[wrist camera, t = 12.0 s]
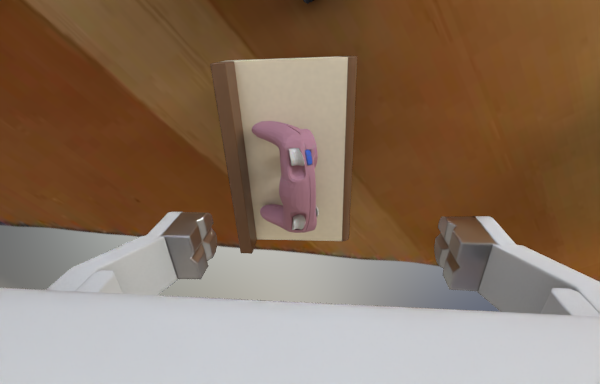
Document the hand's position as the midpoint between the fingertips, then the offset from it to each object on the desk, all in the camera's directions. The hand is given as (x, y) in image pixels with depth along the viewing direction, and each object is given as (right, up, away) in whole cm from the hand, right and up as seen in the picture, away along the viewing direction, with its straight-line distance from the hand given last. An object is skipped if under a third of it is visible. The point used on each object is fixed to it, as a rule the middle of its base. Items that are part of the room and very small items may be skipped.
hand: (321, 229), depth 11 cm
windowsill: (-1, +8, +26) cm, 27 cm away
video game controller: (-2, +4, +18) cm, 18 cm away
